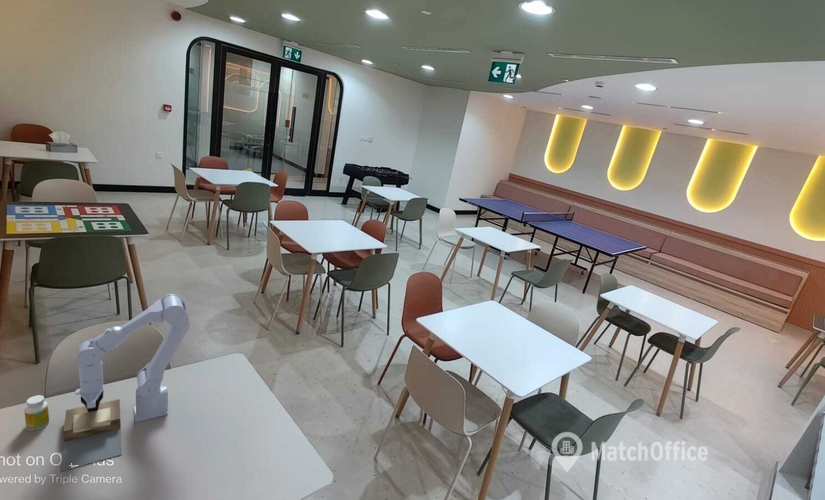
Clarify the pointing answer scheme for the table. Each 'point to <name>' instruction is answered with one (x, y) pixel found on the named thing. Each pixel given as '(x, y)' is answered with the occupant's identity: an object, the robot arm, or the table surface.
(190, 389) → the table surface
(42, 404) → the supplement bottle
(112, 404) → the walnut deck
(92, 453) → the slate mat
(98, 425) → the birch tile
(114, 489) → the table surface
